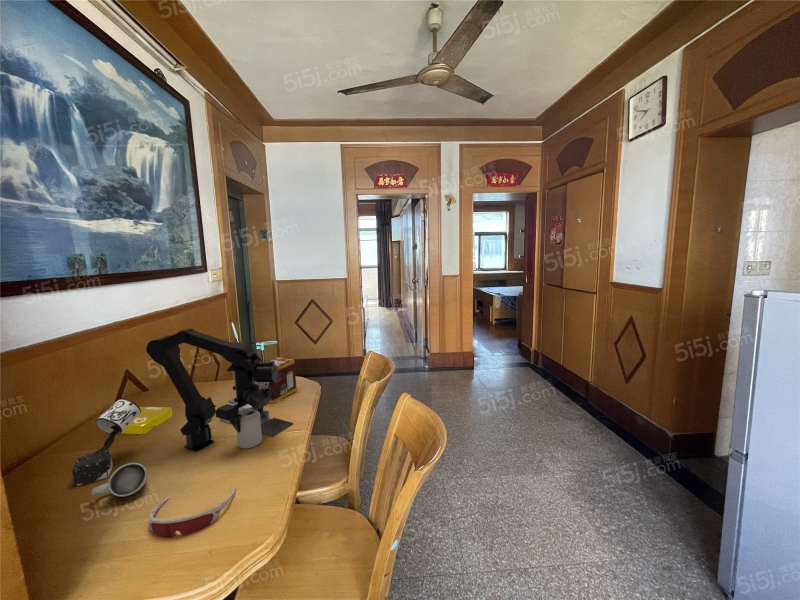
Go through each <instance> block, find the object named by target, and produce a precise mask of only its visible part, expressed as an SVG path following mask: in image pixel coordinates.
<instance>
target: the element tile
mask: <svg viewBox="0 0 800 600" xmlns="http://www.w3.org/2000/svg"><path fill="white" fill-rule="evenodd" d="M139 407H140V409H141V413H140V414H139V415H138V416H137V417H136V418H135V419H134V420H133V421H132V422H131V423H130V424H129V425H128V426H127V428H126V429H125V430H124V431H123V432H122V433H121V434H120V435H135V434H140V435H144V434H147V433H148V431H149V430H150V431H152V430H153V429H152V428H154V427H155V428H157V427H156V426H158V425H160V424H162V423H163V422H165V421H166V420H168V419H170V418H172V417H173V410H172V407H170V406H169V407H167V406H164V407H163V406H139ZM155 428H154V429H155ZM151 429H152V430H151ZM150 431H149V432H150ZM146 432H147V433H146ZM143 433H144V434H143Z"/></svg>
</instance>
